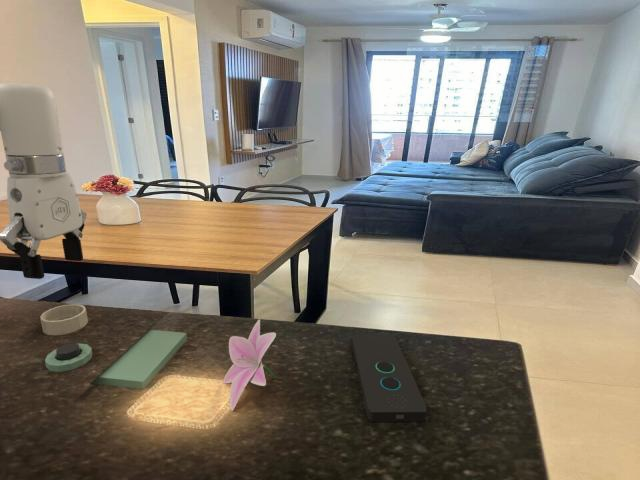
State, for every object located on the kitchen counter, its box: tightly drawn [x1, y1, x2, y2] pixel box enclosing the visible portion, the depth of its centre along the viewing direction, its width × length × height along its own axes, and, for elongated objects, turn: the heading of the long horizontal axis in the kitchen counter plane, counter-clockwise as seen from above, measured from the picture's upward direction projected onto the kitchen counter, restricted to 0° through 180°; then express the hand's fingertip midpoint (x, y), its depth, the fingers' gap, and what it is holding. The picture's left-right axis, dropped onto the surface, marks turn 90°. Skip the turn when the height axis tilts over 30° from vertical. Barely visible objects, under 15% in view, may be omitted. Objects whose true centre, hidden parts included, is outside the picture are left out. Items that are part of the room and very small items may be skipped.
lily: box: [222, 318, 277, 412], centre depth 56 cm, size 12×12×10 cm
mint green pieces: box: [44, 329, 188, 390], centre depth 63 cm, size 16×14×3 cm
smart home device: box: [350, 333, 428, 423], centre depth 60 cm, size 8×2×20 cm
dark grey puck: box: [55, 342, 80, 361], centre depth 59 cm, size 3×3×1 cm
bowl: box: [39, 303, 89, 336], centre depth 69 cm, size 7×7×4 cm
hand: (55, 268), depth 66 cm, fingers open, 8 cm apart
